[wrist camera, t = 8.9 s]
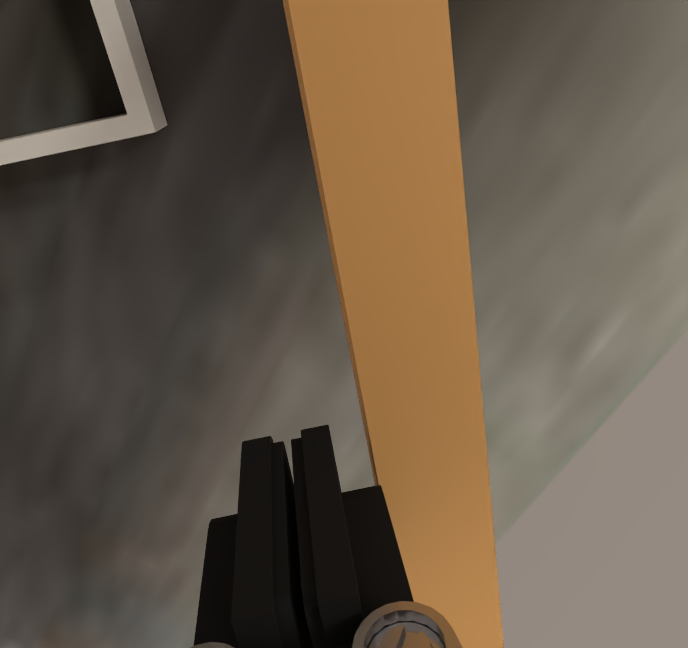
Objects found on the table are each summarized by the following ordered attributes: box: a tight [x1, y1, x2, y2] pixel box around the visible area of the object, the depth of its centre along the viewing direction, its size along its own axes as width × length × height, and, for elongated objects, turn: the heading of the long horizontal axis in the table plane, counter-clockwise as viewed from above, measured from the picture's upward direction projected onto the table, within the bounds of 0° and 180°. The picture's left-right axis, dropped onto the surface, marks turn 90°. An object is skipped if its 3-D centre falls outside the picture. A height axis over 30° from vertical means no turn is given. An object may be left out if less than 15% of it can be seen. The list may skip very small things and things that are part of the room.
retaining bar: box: [283, 0, 504, 648], centre depth 9 cm, size 21×3×2 cm, turn 10°
